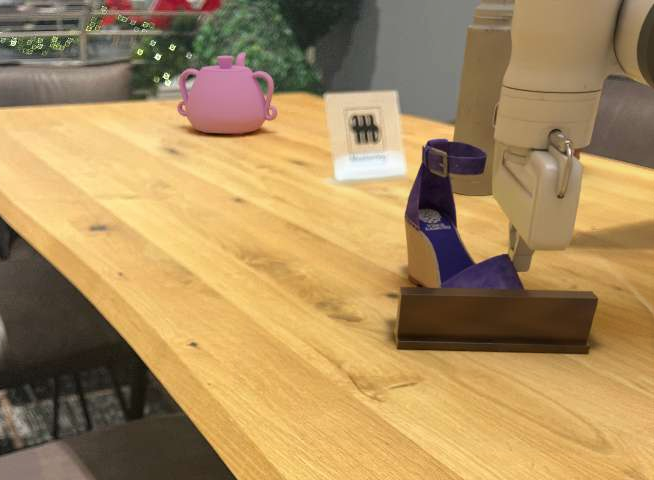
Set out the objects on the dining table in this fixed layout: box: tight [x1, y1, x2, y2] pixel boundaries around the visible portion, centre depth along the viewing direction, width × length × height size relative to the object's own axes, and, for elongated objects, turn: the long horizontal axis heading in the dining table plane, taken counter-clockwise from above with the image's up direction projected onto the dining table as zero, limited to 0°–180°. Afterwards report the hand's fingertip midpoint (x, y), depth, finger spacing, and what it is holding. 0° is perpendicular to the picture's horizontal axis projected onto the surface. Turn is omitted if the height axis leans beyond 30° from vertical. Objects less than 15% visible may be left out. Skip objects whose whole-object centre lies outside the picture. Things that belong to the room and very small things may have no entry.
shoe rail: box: [393, 286, 599, 354], centre depth 72 cm, size 18×4×5 cm, turn 87°
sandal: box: [403, 138, 526, 290], centre depth 78 cm, size 8×20×15 cm, turn 20°
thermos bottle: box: [449, 0, 515, 196], centre depth 114 cm, size 8×8×28 cm
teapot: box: [176, 51, 278, 136], centre depth 161 cm, size 22×22×14 cm
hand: (517, 267), depth 79 cm, fingers closed
